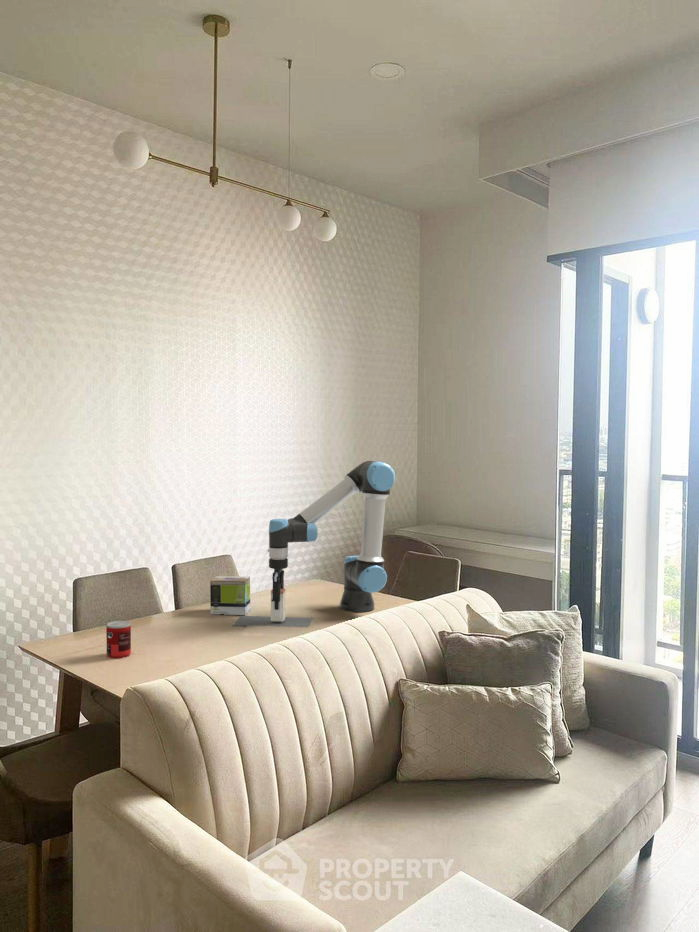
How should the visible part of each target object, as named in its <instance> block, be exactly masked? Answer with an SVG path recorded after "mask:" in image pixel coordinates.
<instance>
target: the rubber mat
mask: <svg viewBox="0 0 699 932" xmlns="http://www.w3.org/2000/svg"><path fill="white" fill-rule="evenodd" d="M313 619H314V618H313V617H301V616H300V617H297V616H294V617H292V616H285V619H284V621H271V616H261V615H239V616H238V618H237V620H235V621H234V623H233V624H232V627H246V626H247V627H249V626H253V627H255V626H256V627H283V628H285V627H290V628H292V627H293V628H309V626H310V625H311V623H312V621H313Z"/></svg>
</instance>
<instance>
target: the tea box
mask: <svg viewBox="0 0 699 932" xmlns="http://www.w3.org/2000/svg"><path fill="white" fill-rule="evenodd" d="M209 582H210V583H209V584H210V585H209V587H210V588H209V591H210V592H209V593H210V594H209V596H210V597H209V599H210V601H209V602H210V615H220V614H224V615H226V616H227V615H228V616H229V615H231V616H247V614H248V613H249V612H250V611H251V577H250V576H239V575H238V576H236V575H235V576H225V575H216V576H215V577H214V578H211V580H209ZM249 610H250V611H249ZM248 611H249V612H248ZM247 612H248V613H247ZM246 613H247V614H246Z"/></svg>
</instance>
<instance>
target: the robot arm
mask: <svg viewBox="0 0 699 932" xmlns="http://www.w3.org/2000/svg"><path fill="white" fill-rule="evenodd" d="M395 481H396V474H395V471H394V469H393V468H392V467H391V465H389V464H388V463H385V462H383V461H373V460H366V461H363V462H362V463H359V464H358V465H357V466H356V467H354V468H353V469H352V470H351V471H349V472H348V473H346V474H345V475H344V479H343V480H341V481H340V482H338V483H337V484H336V485H335V486H333V488H331V489H330V490H328V491H327V492H325V493H324V494H322V496H321V497H319V498H318V499H316V500H314V502H313V503H311V504H310V505H309V506H307V507H306V508H305V509H303V510H302V511H301V512H299V513H298V514H296V515H295V516H294V517H292V518H273V519H271V520H269V526H268V549H267V552H268V557H269V559H268V568H270V569H271V570H272V569H273V570H274V571H273V572H272V577H271V578H272V579H271V580H272V589H273V599H272V600H271V599H270V602H271V601H273V617H275V618H280V615H281V601H280V589H285V577H284V576H285V570H284V569H287V568H288V567H289V566H288V565H289V559H288V557H289V543H290V544H291V543H311V542H316V541H317V539H318V533H319V530H318V526H317V523H318V522H319V521H320V520H322V519H323V518H324V517H326V516H328V515H329V514H330V513H331V512H332V511H334V510H335V509H336V508H337V507H339V506H340V505H341V504H343V503H344V502H346V501H347V500H348V499H350V498H351V497H352V496H353V495H355V494H360V493H361V494H362V495H363V496H364V508H363V509H364V511H363V518H362V519H363V520H362V521H363V522H362V533H361V534H362V535H361V543H360V545H361V546H360V554H358V555H349V556H348V555H347V556H345V558H344V561H343V562H344V563H343V593H342V594H341V599H340V602H339V609H340V610H341V611H347V612H353V613H366V612H371V611H373V610H375V601H374V600H375V599H374V597H373V594H374V593H378V592H380V591H381V590H382V589H383V588H384V587H385V585H386V583H387V581H388V575H387V572H386V570H385V568H384V567H385V559H384V557H382V547H383V537H384V526H385V525H384V523H385V512H386V511H385V509H386V502H387V501H386V500H387V498H388V497H390V496H391V495H390V493H391V488H392V487H393V486H394V484H395Z"/></svg>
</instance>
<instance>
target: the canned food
mask: <svg viewBox="0 0 699 932" xmlns="http://www.w3.org/2000/svg"><path fill="white" fill-rule="evenodd" d="M105 630H106V631H105V632H106V637H105V638H106V656H107V658H109V657H110V659H123V657H125V658H128V657H129V656H130V655H131V653H132V650H131V649H132V643H131V642H132V633H131V632H132V626H131V622H130V621H127V620H115V621H109V622H107V624H106V629H105ZM127 656H128V657H127Z"/></svg>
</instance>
